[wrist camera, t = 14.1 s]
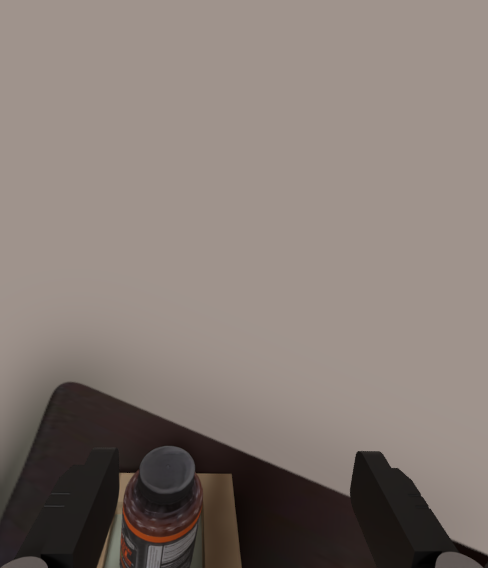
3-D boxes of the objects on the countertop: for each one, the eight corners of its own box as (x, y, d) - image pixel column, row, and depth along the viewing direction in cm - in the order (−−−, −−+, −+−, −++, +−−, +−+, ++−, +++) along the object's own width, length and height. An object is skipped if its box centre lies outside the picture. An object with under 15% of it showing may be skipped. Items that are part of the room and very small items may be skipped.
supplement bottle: (112, 541, 31) (117, 445, 27) (178, 516, 34) (191, 425, 30) (127, 619, 27) (135, 518, 22) (202, 583, 30) (221, 487, 25)
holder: (227, 474, 40) (230, 461, 39) (245, 667, 26) (250, 652, 25) (93, 473, 37) (93, 459, 36) (32, 686, 23) (30, 671, 22)
